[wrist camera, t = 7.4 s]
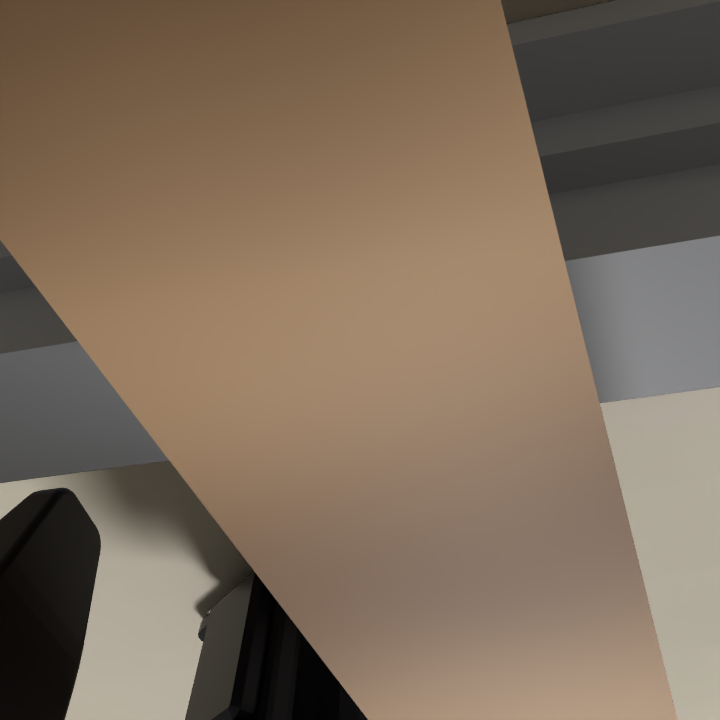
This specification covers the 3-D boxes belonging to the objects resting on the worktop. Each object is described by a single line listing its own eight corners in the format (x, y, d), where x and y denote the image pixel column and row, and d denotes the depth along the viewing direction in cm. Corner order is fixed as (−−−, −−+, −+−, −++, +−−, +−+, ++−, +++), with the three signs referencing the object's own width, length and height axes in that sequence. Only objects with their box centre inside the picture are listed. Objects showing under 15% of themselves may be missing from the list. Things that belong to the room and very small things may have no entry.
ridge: (902, -63, 11) (1221, -14, 6) (828, 274, 14) (1007, 442, 10) (-25, 139, 13) (-213, 266, 9) (107, 384, 16) (16, 556, 12)
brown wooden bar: (634, 619, 13) (705, 833, 10) (455, 651, 14) (473, 857, 11) (363, -386, 5) (337, -670, 2) (-1, -172, 6) (-338, -200, 3)
